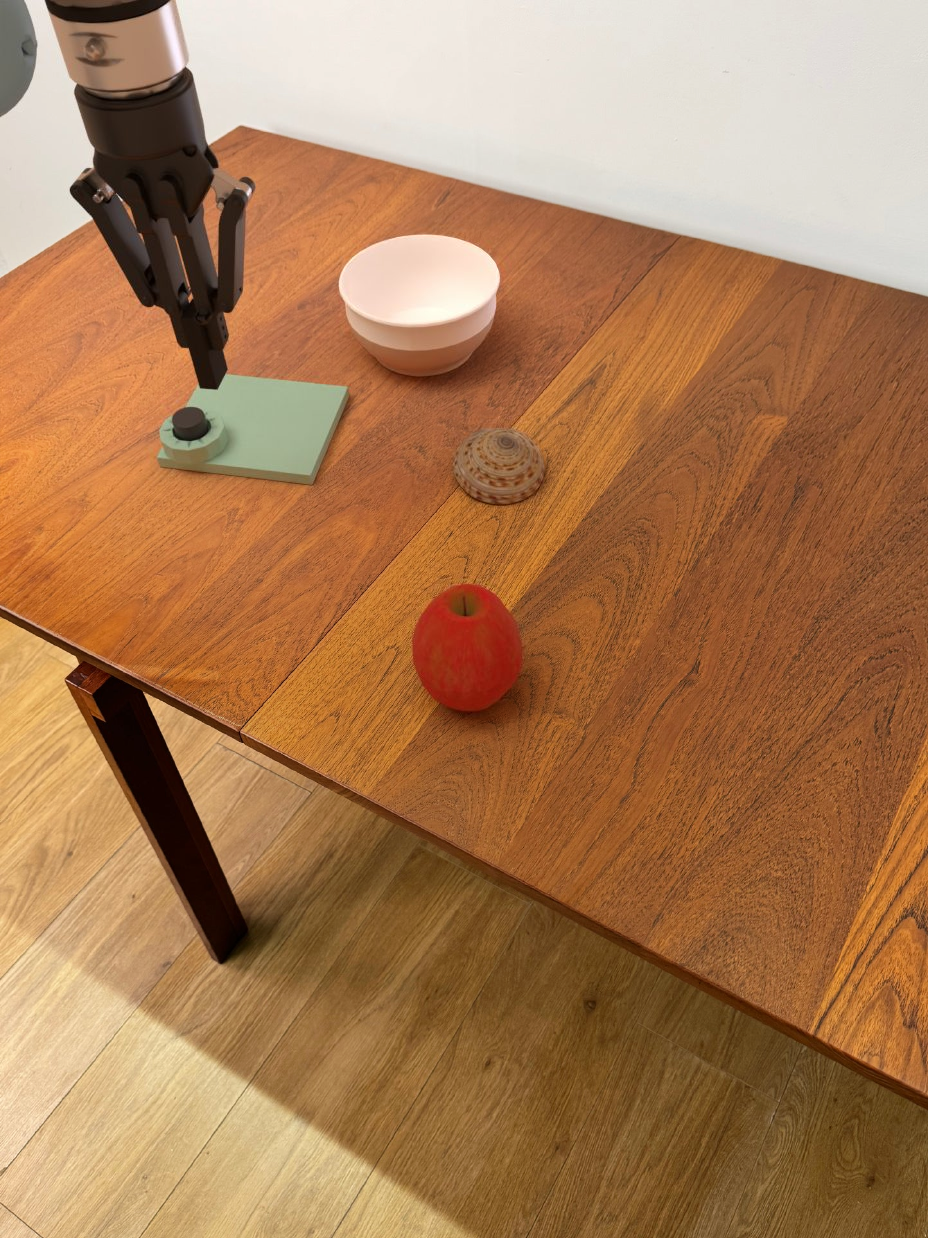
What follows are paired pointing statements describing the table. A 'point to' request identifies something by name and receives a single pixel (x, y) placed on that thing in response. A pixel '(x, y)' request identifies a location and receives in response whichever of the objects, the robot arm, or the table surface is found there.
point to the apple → (467, 648)
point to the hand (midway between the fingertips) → (214, 378)
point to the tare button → (190, 424)
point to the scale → (259, 429)
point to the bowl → (420, 301)
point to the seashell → (498, 465)
